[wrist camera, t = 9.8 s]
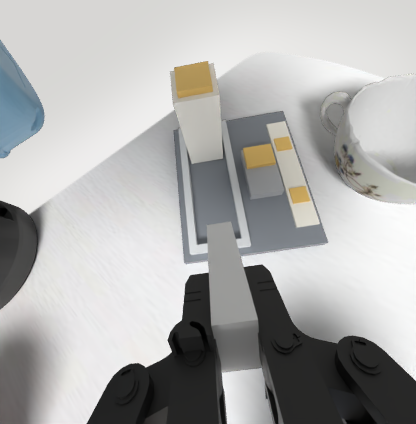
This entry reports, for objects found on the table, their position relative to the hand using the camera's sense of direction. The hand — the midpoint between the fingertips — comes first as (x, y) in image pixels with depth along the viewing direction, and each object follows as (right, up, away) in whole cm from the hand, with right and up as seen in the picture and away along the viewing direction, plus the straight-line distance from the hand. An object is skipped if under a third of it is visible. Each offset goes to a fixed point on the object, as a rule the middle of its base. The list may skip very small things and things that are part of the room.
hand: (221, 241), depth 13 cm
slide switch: (-1, +10, +13) cm, 17 cm away
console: (+3, +6, +13) cm, 14 cm away
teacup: (+17, +7, +12) cm, 22 cm away
